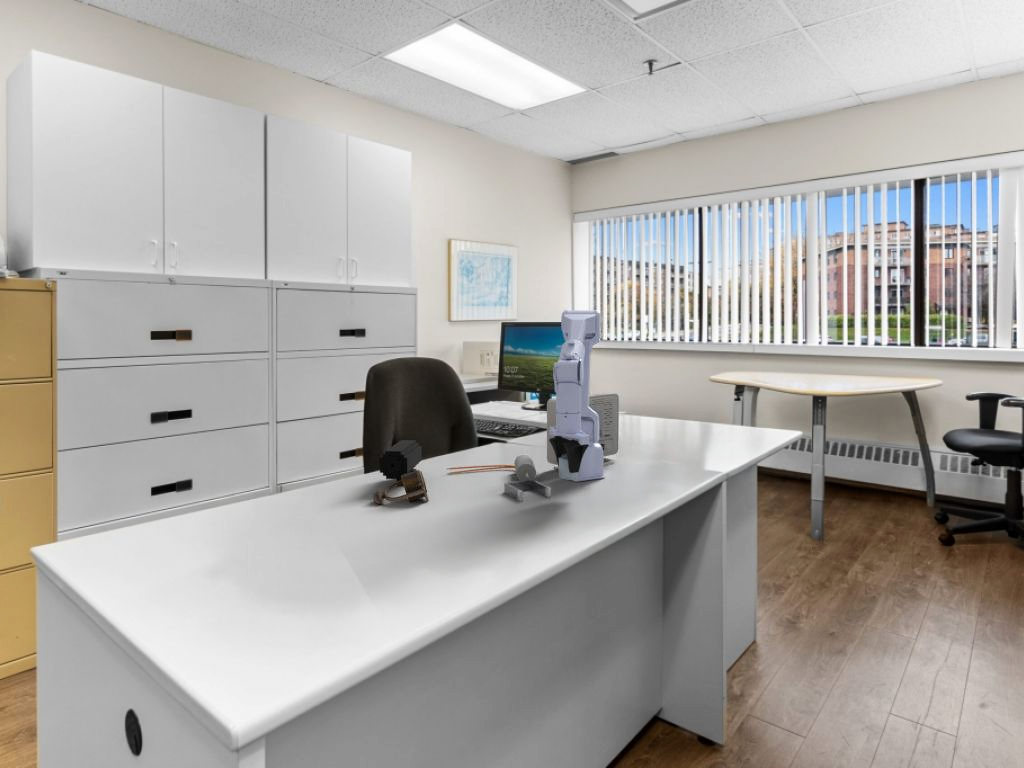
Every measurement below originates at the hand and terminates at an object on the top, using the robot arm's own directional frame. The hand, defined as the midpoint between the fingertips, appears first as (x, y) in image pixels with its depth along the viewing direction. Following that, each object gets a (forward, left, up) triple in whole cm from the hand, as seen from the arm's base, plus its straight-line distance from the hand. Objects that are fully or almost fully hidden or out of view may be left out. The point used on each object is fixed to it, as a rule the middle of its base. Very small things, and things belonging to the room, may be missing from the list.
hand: (568, 470), depth 146 cm
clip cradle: (+7, -8, -7) cm, 13 cm away
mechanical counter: (+35, -16, -7) cm, 39 cm away
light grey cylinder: (0, 0, -2) cm, 2 cm away
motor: (+9, -25, -7) cm, 27 cm away
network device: (-22, -28, -7) cm, 36 cm away
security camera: (+30, -32, -7) cm, 45 cm away
